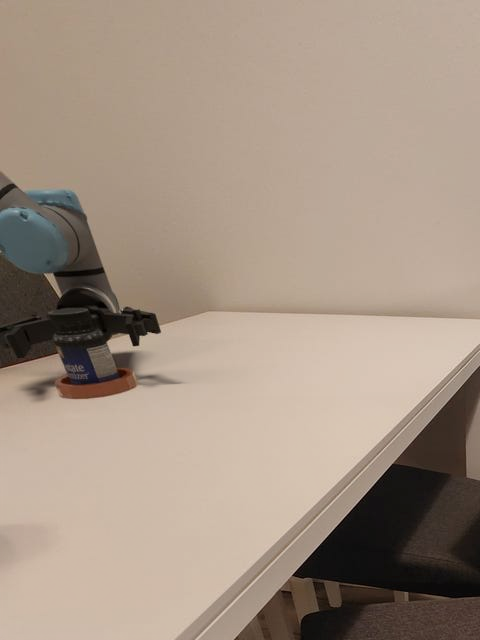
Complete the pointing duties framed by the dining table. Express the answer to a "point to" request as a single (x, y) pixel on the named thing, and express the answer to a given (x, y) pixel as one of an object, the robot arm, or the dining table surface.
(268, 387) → the dining table surface
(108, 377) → the pill bottle
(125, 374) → the holder
